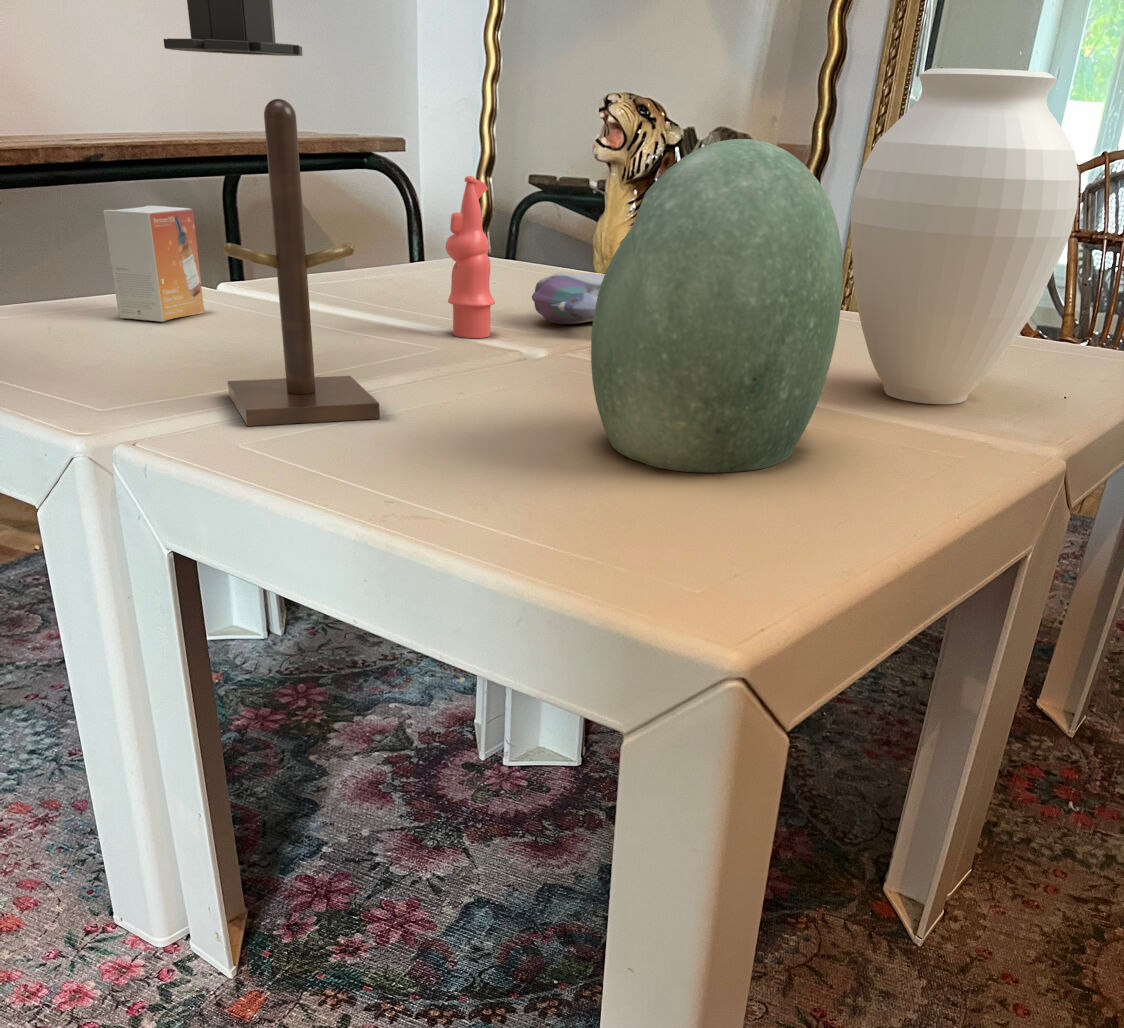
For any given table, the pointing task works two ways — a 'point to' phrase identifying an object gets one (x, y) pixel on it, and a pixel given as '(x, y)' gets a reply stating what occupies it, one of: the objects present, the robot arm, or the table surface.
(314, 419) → the coat stand
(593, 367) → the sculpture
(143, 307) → the small box
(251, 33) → the hat
